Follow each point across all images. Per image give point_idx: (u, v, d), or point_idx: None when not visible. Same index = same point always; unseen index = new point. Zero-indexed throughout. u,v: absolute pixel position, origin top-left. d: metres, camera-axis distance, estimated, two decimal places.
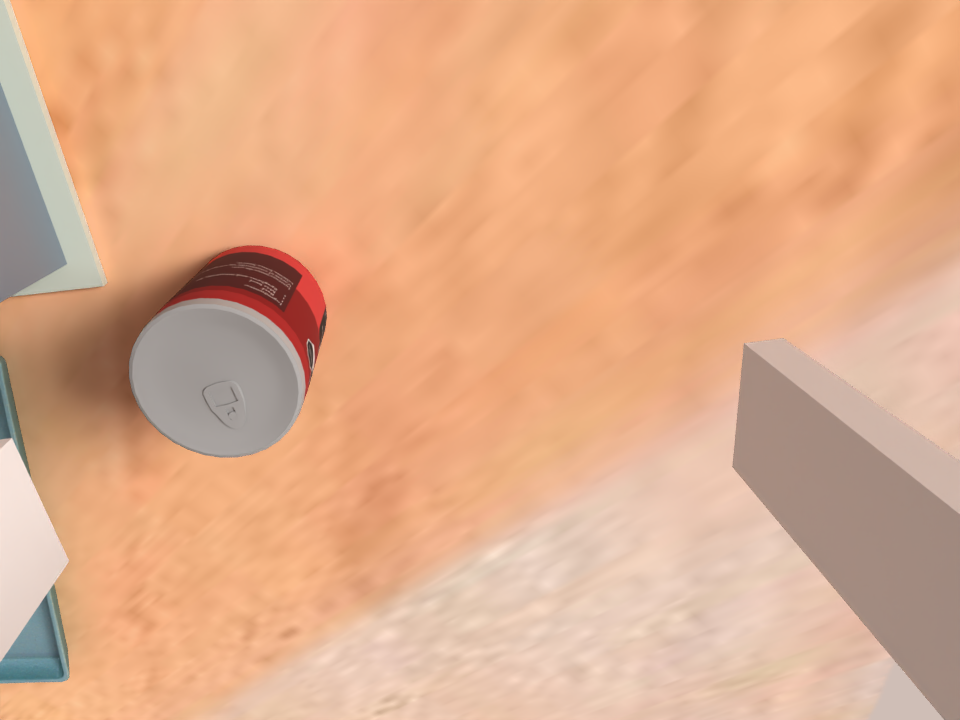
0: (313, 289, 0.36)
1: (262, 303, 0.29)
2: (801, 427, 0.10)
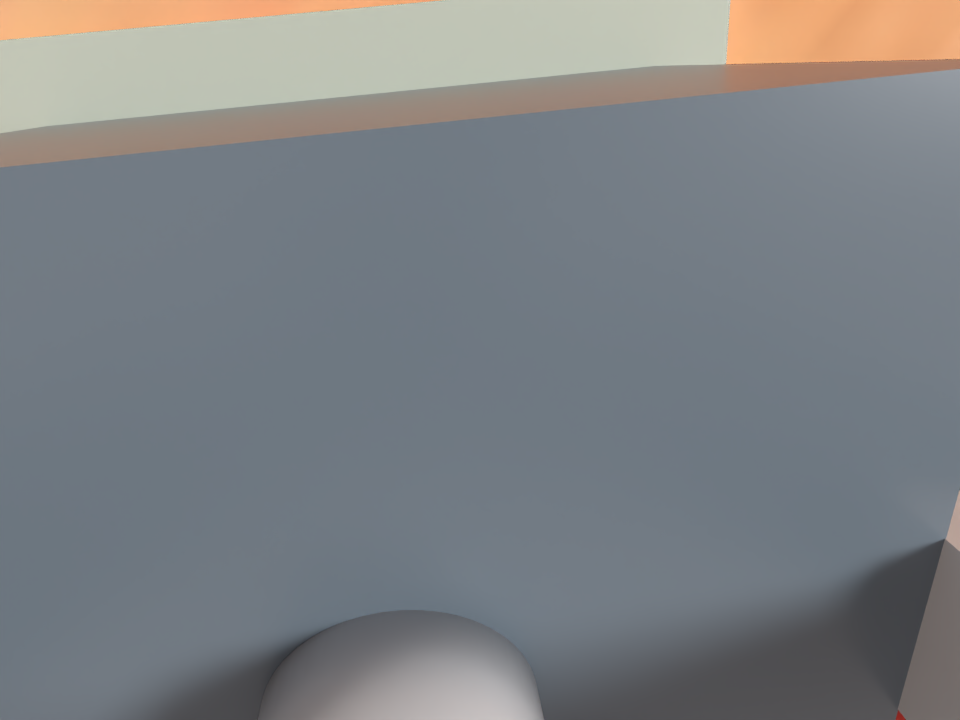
0: None
1: None
2: None
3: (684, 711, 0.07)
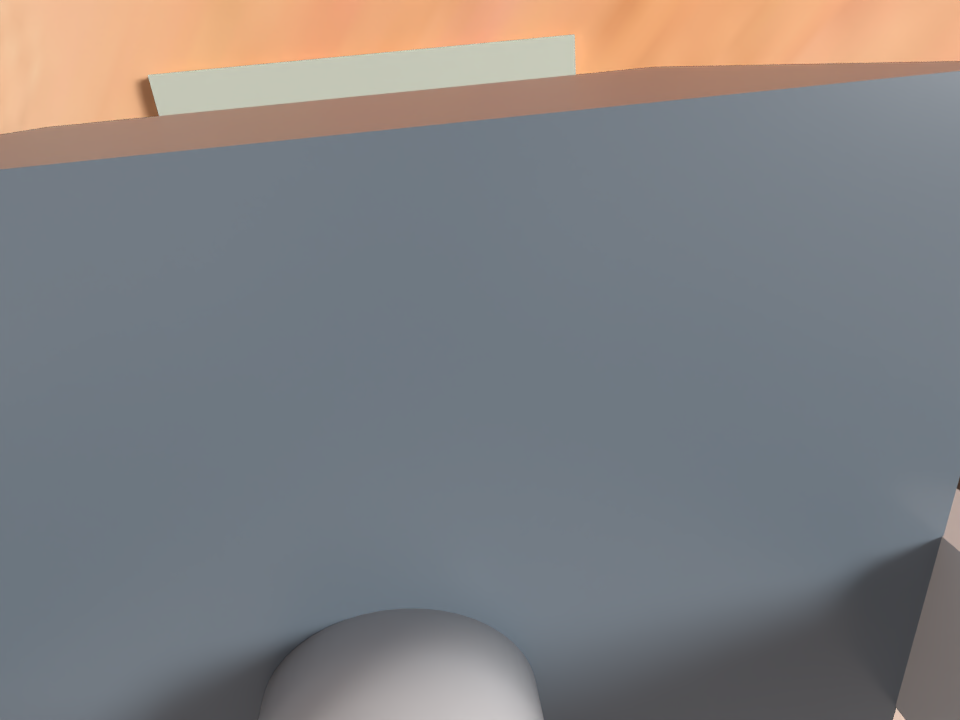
0: None
1: None
2: None
3: (683, 709, 0.08)
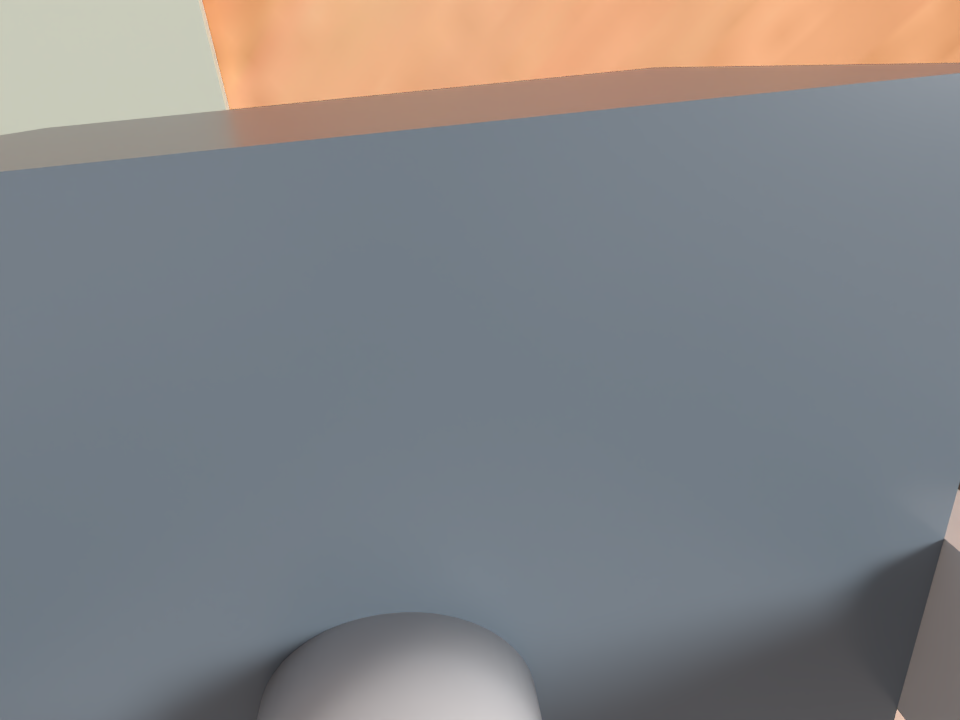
0: None
1: None
2: None
3: (682, 713, 0.08)
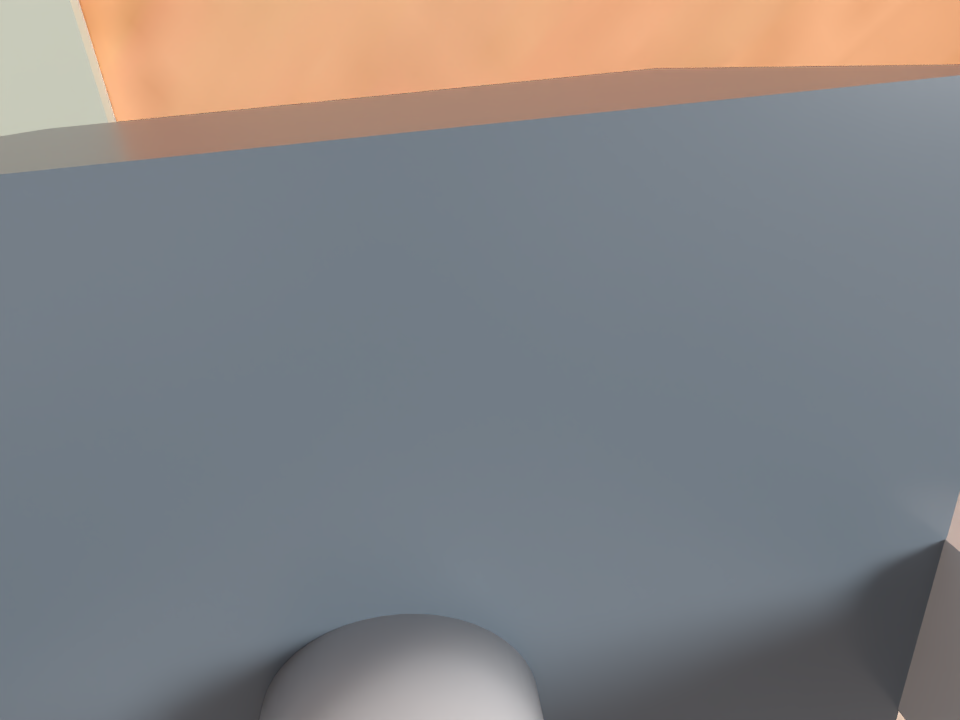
0: None
1: None
2: None
3: (684, 714, 0.08)
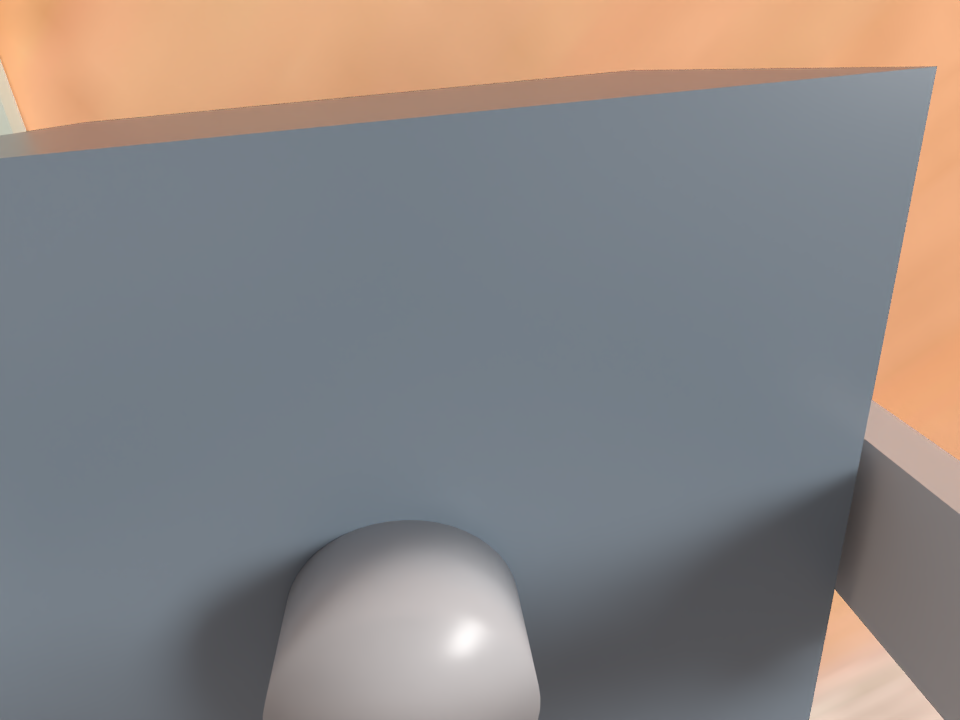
0: None
1: None
2: None
3: (643, 618, 0.09)
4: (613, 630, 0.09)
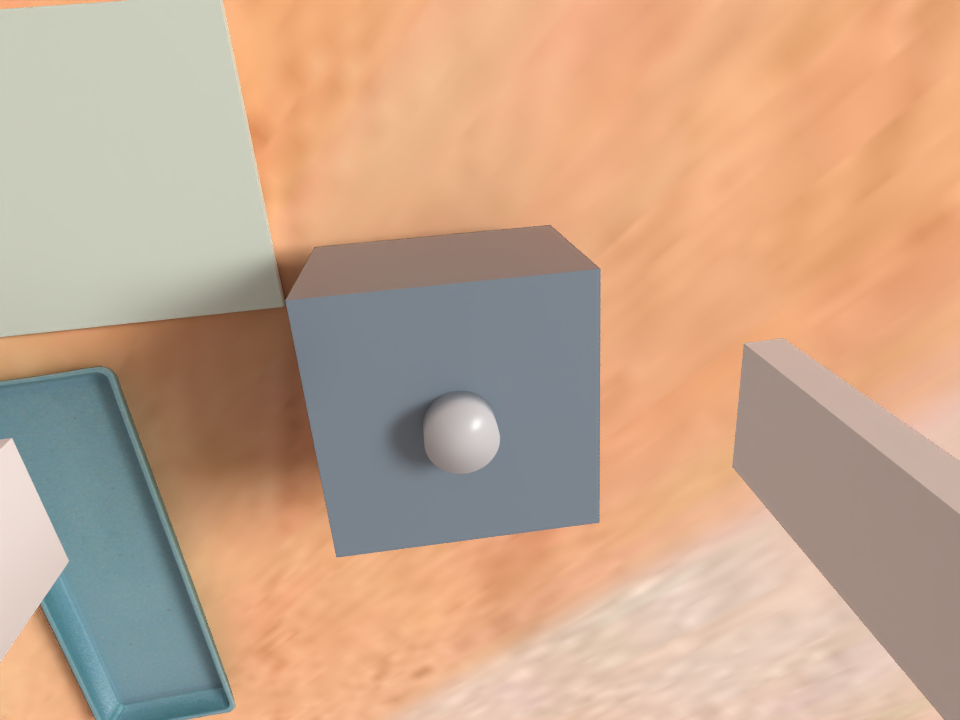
0: None
1: None
2: (802, 427, 0.10)
3: (535, 429, 0.27)
4: (526, 434, 0.27)
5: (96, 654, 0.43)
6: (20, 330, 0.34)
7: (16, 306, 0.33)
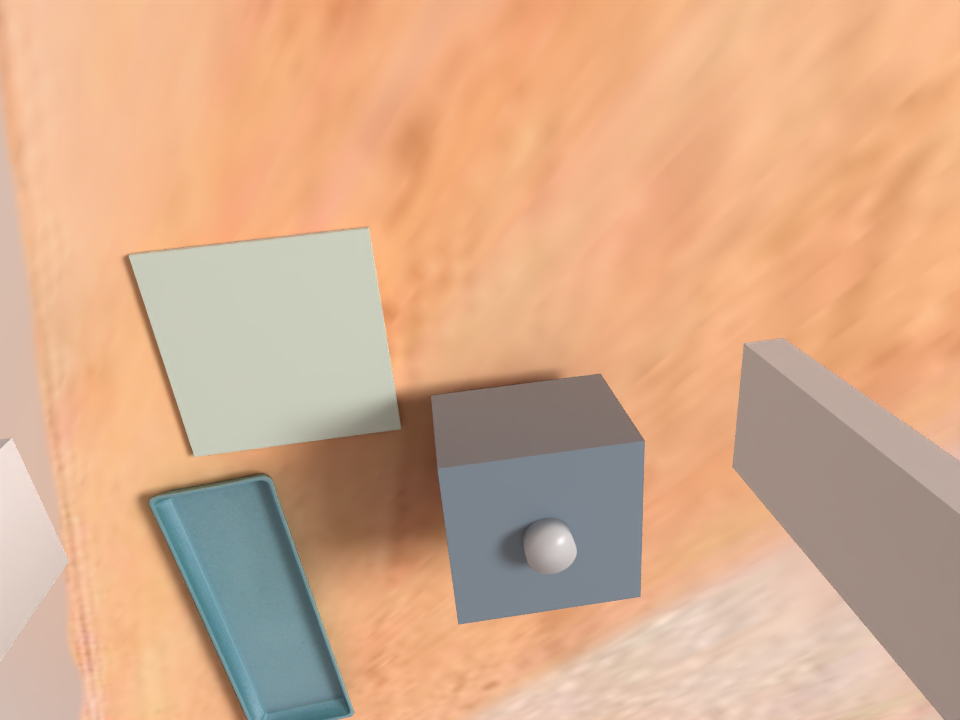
0: None
1: None
2: (801, 427, 0.10)
3: (598, 539, 0.39)
4: (591, 542, 0.39)
5: (249, 676, 0.56)
6: (212, 451, 0.46)
7: (210, 435, 0.46)
